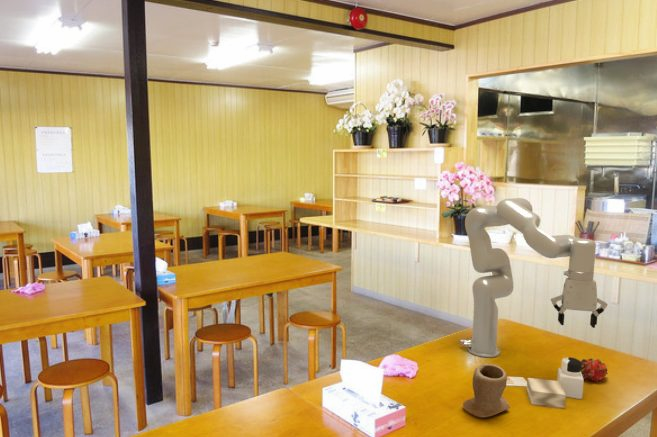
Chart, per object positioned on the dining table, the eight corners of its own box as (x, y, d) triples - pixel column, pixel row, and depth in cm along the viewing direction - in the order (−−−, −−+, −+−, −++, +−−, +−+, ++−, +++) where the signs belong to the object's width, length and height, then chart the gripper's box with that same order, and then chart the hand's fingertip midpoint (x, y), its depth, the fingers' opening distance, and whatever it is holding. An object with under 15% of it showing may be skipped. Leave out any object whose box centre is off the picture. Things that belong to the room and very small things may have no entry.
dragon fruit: (575, 384, 181) (601, 385, 184) (592, 379, 174) (619, 380, 177) (568, 360, 185) (594, 362, 189) (585, 354, 178) (612, 356, 182)
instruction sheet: (500, 385, 176) (500, 384, 176) (495, 376, 182) (495, 375, 182) (529, 386, 175) (529, 385, 175) (523, 377, 182) (523, 377, 182)
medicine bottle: (579, 390, 173) (582, 357, 172) (582, 399, 166) (585, 365, 165) (556, 386, 175) (559, 354, 174) (558, 395, 169) (561, 362, 167)
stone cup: (485, 426, 149) (488, 378, 147) (457, 408, 159) (459, 363, 157) (520, 414, 156) (523, 368, 154) (491, 397, 167) (494, 354, 165)
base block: (531, 405, 162) (532, 391, 162) (526, 391, 172) (527, 377, 172) (564, 409, 160) (565, 394, 160) (557, 395, 170) (559, 381, 169)
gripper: (555, 276, 165) (551, 326, 167) (612, 280, 161) (608, 331, 163) (550, 271, 172) (547, 319, 174) (605, 274, 168) (601, 324, 170)
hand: (576, 325), depth 169 cm, fingers open, 9 cm apart
